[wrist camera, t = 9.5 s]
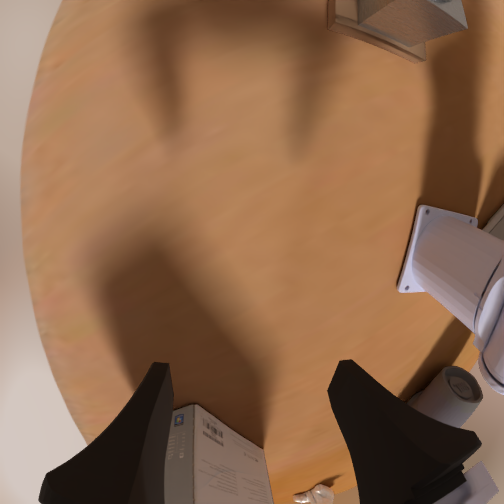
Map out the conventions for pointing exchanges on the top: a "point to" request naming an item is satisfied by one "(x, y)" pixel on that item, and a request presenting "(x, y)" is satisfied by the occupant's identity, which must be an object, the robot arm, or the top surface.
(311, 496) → the seated beast figurine
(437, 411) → the bluetooth speaker
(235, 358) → the top surface
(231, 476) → the hard drive box
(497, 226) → the digital clock
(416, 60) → the stand
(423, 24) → the housing
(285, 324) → the top surface
